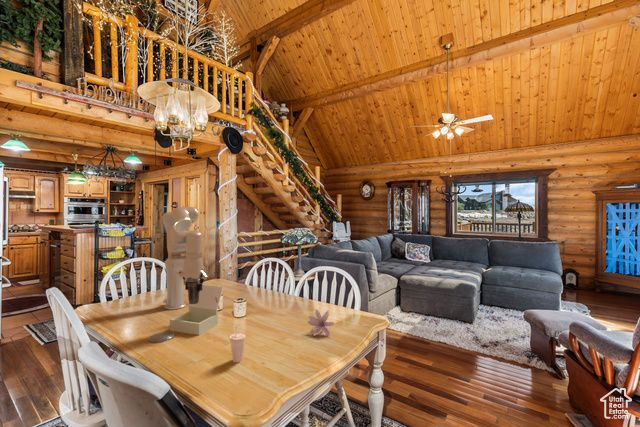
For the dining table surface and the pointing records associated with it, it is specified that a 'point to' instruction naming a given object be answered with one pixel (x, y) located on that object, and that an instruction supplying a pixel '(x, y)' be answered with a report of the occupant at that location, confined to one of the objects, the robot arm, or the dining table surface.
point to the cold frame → (200, 313)
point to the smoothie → (237, 346)
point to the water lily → (320, 323)
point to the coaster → (161, 337)
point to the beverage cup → (192, 290)
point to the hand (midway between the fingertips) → (193, 289)
